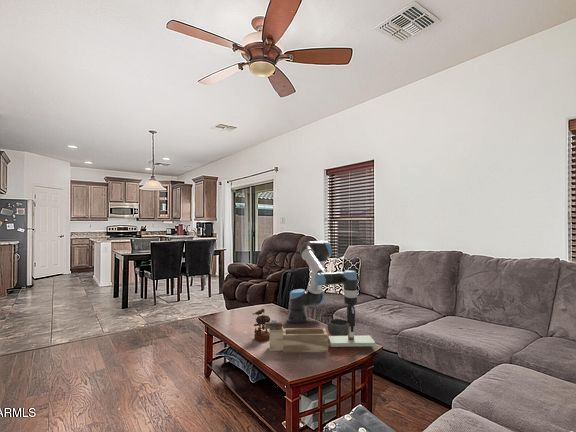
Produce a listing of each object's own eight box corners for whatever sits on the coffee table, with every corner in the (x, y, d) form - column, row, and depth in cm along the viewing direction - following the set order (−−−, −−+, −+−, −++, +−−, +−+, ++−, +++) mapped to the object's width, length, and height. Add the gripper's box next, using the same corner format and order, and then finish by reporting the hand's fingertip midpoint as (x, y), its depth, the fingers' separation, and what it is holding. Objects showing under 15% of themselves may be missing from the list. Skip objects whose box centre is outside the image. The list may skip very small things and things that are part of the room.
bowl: (353, 335, 214) (353, 320, 214) (345, 342, 201) (345, 326, 201) (333, 331, 221) (332, 316, 222) (324, 338, 209) (324, 322, 209)
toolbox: (270, 344, 198) (270, 318, 198) (325, 344, 198) (324, 317, 199) (269, 352, 186) (269, 324, 186) (327, 352, 186) (327, 323, 187)
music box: (260, 344, 199) (258, 311, 201) (249, 341, 207) (247, 309, 208) (277, 337, 210) (275, 306, 212) (266, 335, 218) (265, 305, 219)
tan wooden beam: (265, 327, 193) (265, 322, 193) (281, 327, 193) (281, 322, 193) (265, 328, 191) (265, 323, 191) (281, 328, 191) (281, 323, 191)
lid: (328, 339, 198) (328, 321, 198) (370, 338, 199) (369, 320, 199) (331, 346, 186) (330, 327, 186) (375, 346, 187) (375, 327, 187)
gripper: (341, 293, 201) (342, 331, 201) (347, 299, 185) (347, 340, 184) (353, 293, 201) (354, 331, 201) (360, 299, 185) (360, 340, 184)
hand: (351, 335), depth 192 cm, fingers closed on lid, 3 cm apart
